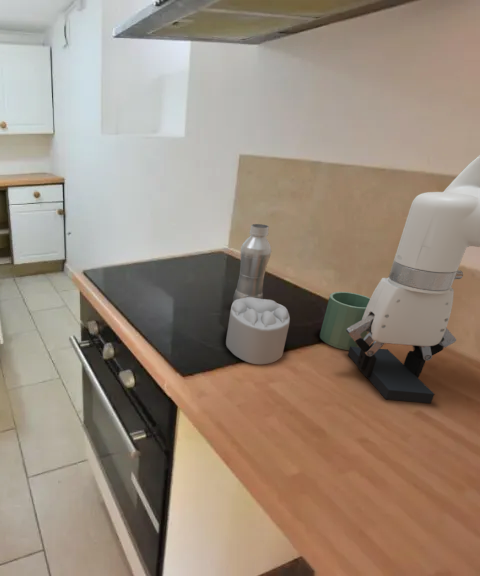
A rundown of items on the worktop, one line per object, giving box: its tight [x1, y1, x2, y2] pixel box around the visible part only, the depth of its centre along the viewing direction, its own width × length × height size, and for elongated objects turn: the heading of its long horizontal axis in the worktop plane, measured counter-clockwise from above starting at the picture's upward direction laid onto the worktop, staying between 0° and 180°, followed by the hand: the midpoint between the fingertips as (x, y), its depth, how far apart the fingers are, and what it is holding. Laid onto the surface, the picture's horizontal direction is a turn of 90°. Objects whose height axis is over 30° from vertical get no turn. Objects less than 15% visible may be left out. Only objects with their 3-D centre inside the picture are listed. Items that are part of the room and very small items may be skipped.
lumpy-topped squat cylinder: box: [225, 297, 291, 365], centre depth 72 cm, size 10×13×9 cm
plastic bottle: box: [232, 223, 272, 303], centre depth 85 cm, size 6×7×20 cm
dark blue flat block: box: [347, 347, 435, 404], centre depth 65 cm, size 6×13×2 cm, turn 171°
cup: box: [319, 291, 371, 351], centre depth 74 cm, size 8×8×9 cm
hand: (386, 373), depth 65 cm, fingers closed on dark blue flat block, 6 cm apart
